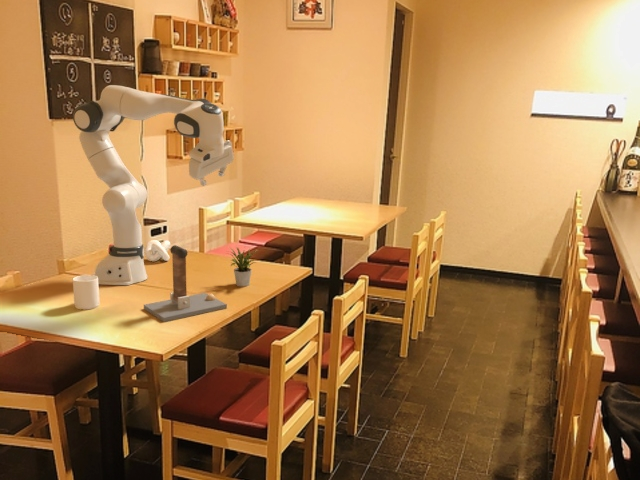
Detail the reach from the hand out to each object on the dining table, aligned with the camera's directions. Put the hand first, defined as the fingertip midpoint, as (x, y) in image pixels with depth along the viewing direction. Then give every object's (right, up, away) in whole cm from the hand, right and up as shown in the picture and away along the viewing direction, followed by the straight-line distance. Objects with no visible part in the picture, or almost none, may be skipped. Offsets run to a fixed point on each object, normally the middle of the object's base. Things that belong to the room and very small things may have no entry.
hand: (212, 180), depth 227 cm
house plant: (+8, -41, +14) cm, 44 cm away
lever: (-8, -44, -18) cm, 48 cm away
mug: (-41, -46, -15) cm, 63 cm away
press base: (-7, -47, -16) cm, 50 cm away
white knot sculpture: (-33, -32, +48) cm, 66 cm away
